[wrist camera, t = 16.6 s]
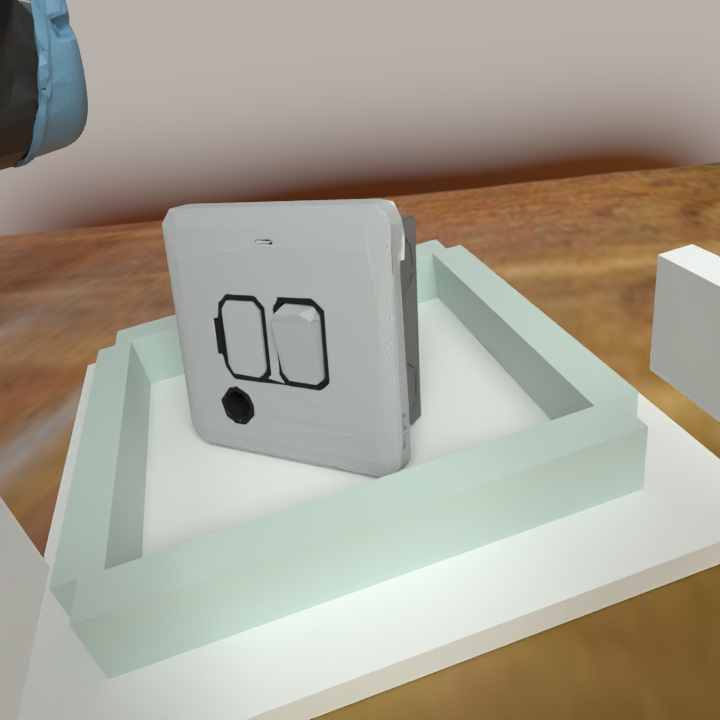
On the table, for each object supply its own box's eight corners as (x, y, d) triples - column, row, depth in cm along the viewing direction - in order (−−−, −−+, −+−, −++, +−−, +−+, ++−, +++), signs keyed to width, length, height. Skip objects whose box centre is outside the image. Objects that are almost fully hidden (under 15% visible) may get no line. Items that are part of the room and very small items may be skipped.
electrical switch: (194, 445, 25) (122, 223, 21) (266, 382, 29) (217, 184, 25) (404, 490, 21) (367, 222, 17) (455, 409, 25) (435, 176, 21)
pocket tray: (95, 380, 34) (67, 325, 32) (471, 268, 36) (465, 211, 35) (4, 835, 15) (-76, 766, 13) (782, 540, 18) (805, 448, 16)
